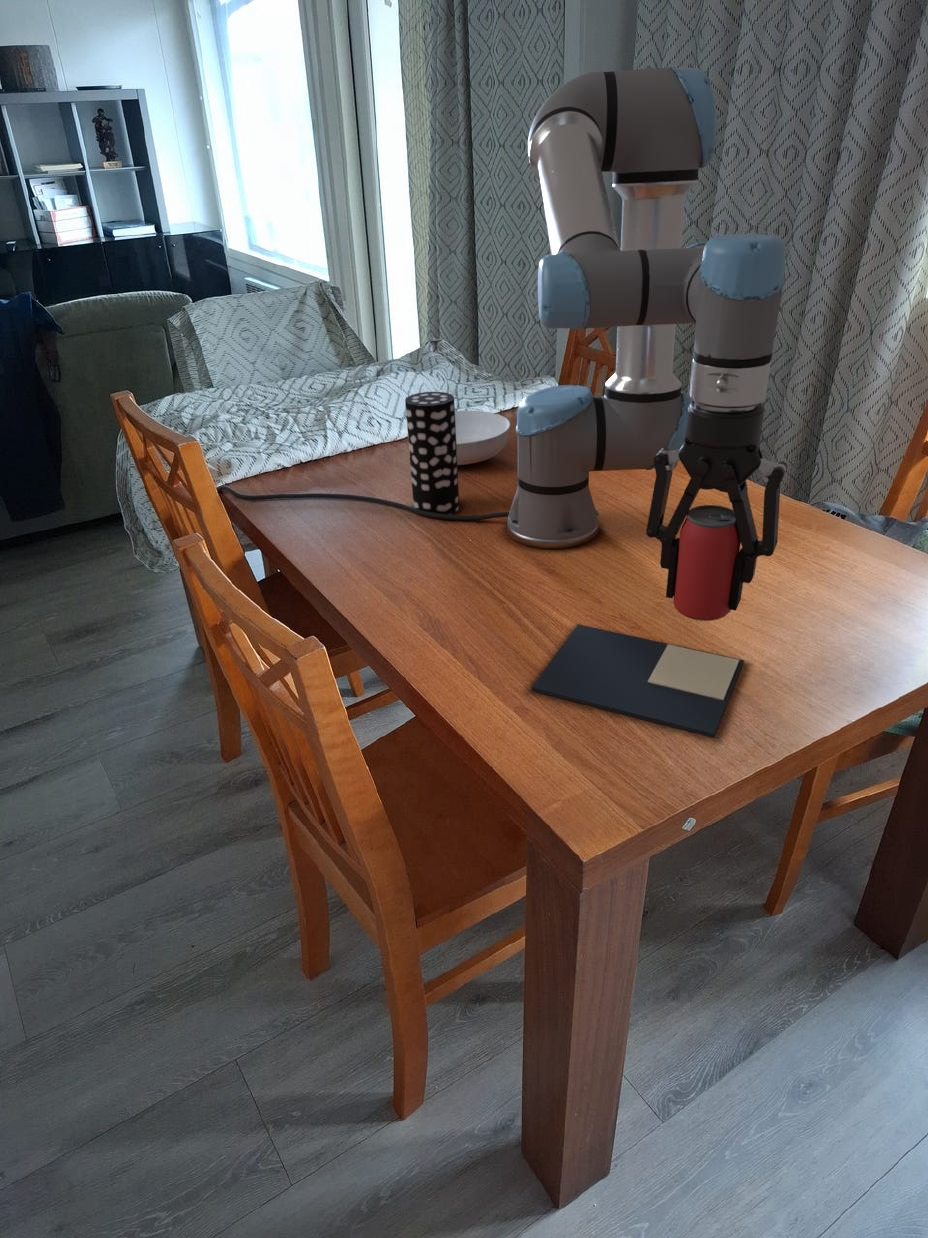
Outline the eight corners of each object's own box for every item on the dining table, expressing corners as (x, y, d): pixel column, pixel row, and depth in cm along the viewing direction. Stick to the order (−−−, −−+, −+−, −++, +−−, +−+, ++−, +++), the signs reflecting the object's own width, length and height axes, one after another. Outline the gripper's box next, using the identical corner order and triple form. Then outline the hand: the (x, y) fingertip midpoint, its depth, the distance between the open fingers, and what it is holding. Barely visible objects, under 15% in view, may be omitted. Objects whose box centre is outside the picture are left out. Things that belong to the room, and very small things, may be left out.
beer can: (721, 628, 93) (734, 531, 87) (664, 615, 96) (673, 520, 90) (738, 603, 97) (751, 509, 91) (683, 590, 101) (693, 498, 94)
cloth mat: (531, 691, 100) (531, 685, 100) (577, 627, 112) (577, 622, 112) (714, 738, 91) (715, 732, 91) (743, 663, 103) (744, 658, 103)
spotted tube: (406, 514, 148) (396, 403, 138) (425, 496, 155) (417, 390, 144) (448, 519, 145) (442, 407, 135) (466, 501, 152) (461, 393, 141)
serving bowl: (408, 445, 180) (405, 414, 177) (503, 437, 182) (502, 406, 178) (413, 479, 162) (411, 446, 159) (518, 471, 164) (518, 437, 160)
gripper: (622, 403, 85) (611, 597, 97) (823, 422, 77) (785, 631, 89) (643, 384, 91) (631, 570, 103) (833, 400, 83) (796, 599, 95)
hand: (703, 598), depth 96 cm, fingers closed on beer can, 6 cm apart
